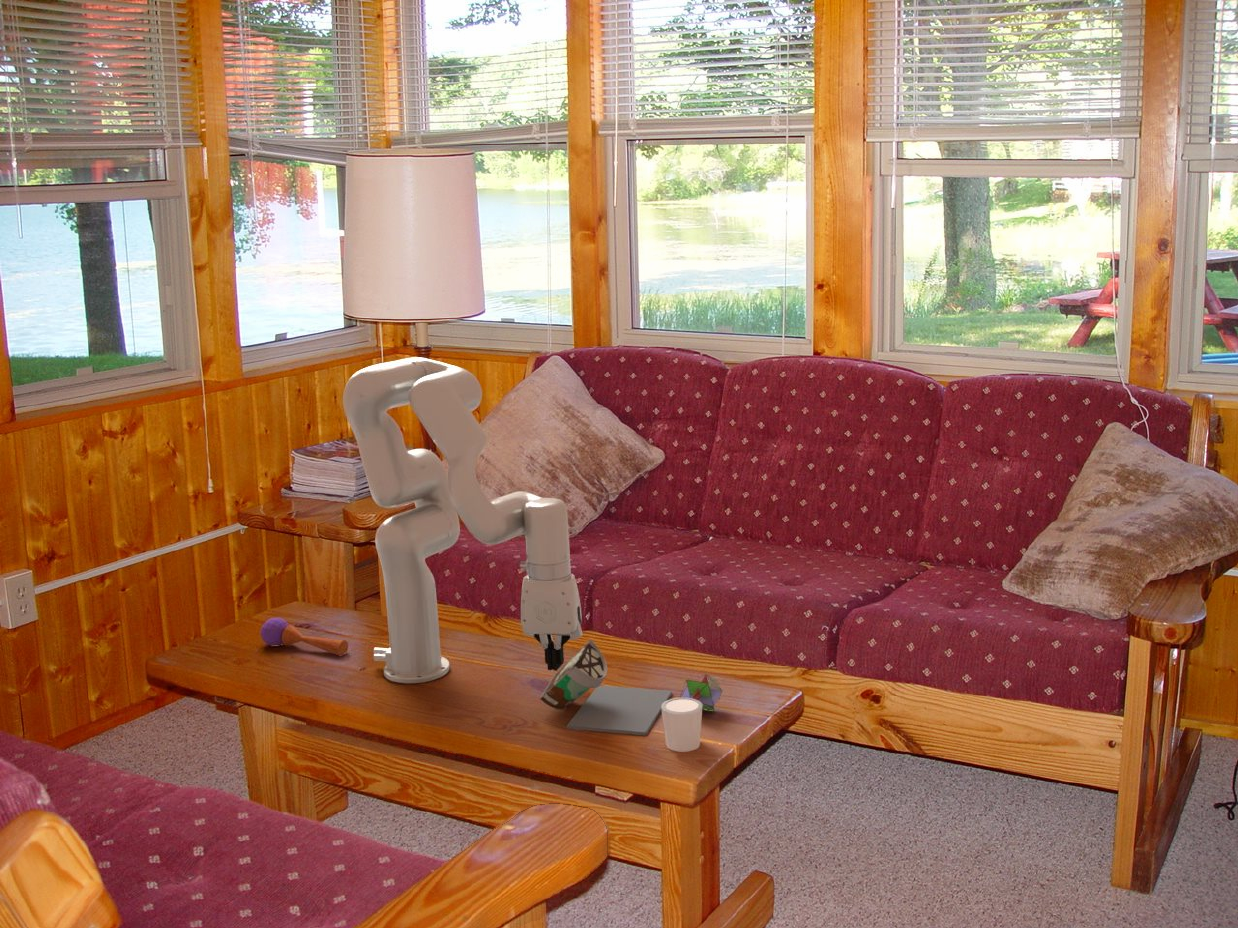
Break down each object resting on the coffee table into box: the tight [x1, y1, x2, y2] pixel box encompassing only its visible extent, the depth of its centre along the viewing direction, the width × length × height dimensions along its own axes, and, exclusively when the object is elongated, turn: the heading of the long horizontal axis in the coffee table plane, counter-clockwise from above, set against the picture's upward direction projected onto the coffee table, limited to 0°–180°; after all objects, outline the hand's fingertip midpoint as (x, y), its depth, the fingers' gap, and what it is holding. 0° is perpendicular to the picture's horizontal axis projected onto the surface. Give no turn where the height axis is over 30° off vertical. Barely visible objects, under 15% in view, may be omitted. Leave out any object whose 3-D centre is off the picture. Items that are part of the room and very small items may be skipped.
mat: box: [566, 684, 673, 737], centre depth 234 cm, size 14×18×1 cm
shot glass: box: [661, 697, 703, 753], centre depth 219 cm, size 7×7×7 cm
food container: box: [539, 639, 608, 710], centre depth 236 cm, size 12×6×10 cm
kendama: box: [260, 617, 349, 657], centre depth 271 cm, size 6×6×20 cm
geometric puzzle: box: [679, 673, 724, 715], centre depth 232 cm, size 7×7×8 cm
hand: (554, 667), depth 236 cm, fingers closed
